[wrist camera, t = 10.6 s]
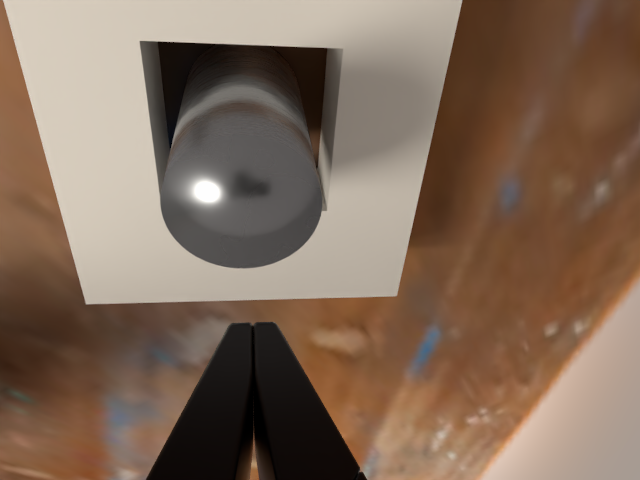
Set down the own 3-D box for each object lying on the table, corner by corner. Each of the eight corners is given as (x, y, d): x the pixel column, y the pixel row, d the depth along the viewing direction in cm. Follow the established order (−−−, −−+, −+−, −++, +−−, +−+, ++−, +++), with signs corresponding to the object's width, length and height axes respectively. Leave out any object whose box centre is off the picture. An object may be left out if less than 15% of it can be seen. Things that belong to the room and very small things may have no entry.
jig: (381, 250, 24) (396, 296, 21) (102, 254, 22) (85, 304, 20) (451, -128, 15) (489, -121, 13) (7, -167, 14) (-42, -166, 11)
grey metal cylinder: (297, 148, 20) (316, 267, 15) (189, 147, 20) (168, 269, 14) (302, 41, 18) (329, 135, 12) (180, 36, 17) (150, 133, 12)
